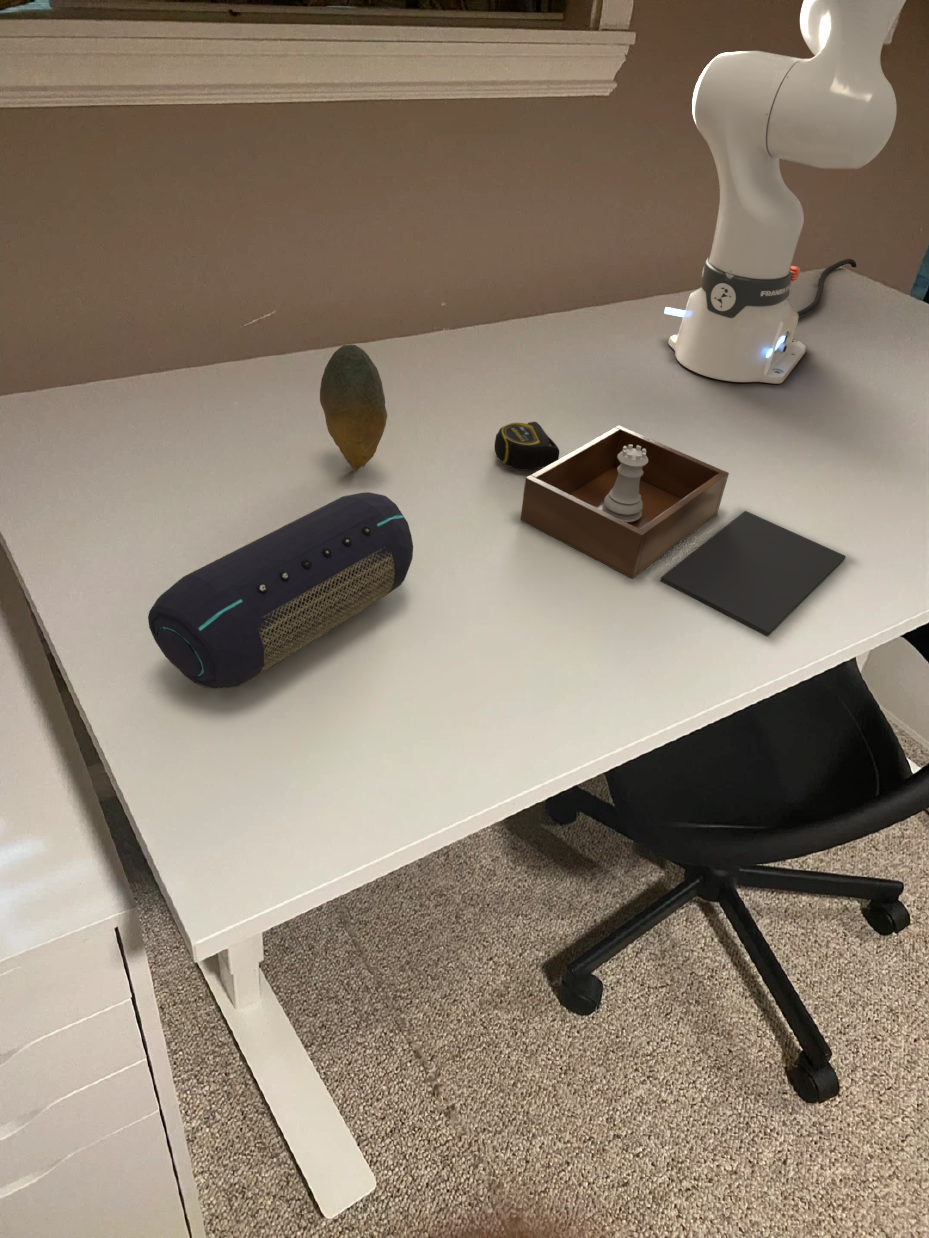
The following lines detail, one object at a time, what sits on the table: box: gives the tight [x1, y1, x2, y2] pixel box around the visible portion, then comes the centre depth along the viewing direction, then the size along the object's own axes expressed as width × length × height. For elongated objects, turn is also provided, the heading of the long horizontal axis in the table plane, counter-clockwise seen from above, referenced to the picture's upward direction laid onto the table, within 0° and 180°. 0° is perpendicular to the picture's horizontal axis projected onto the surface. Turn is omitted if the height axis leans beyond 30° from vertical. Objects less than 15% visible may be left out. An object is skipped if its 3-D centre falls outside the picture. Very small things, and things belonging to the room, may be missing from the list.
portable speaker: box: [147, 491, 414, 690], centre depth 80 cm, size 25×10×10 cm, turn 139°
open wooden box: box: [519, 425, 730, 579], centre depth 99 cm, size 18×15×5 cm
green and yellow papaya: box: [319, 344, 388, 473], centre depth 100 cm, size 10×6×15 cm, turn 37°
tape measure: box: [494, 421, 560, 471], centre depth 108 cm, size 7×7×4 cm
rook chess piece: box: [602, 444, 648, 524], centre depth 98 cm, size 4×4×8 cm
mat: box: [659, 510, 847, 637], centre depth 95 cm, size 18×12×1 cm, turn 138°
